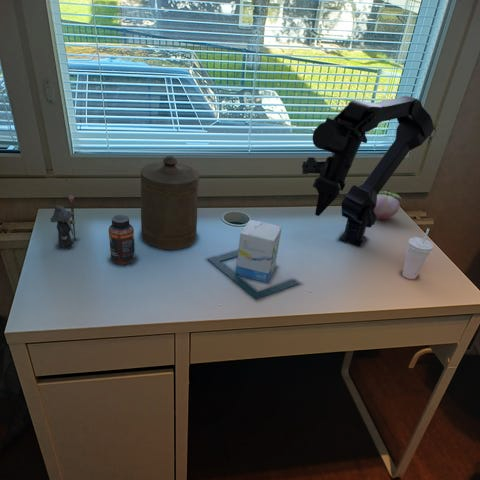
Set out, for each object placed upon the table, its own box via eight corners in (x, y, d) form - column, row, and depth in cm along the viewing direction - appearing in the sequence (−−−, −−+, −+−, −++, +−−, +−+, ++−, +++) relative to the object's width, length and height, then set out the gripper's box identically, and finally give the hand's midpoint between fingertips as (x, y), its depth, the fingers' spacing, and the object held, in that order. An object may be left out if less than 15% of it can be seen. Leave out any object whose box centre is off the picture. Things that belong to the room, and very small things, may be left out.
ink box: (267, 282, 116) (274, 241, 109) (234, 274, 118) (239, 232, 111) (275, 266, 123) (282, 226, 116) (244, 258, 124) (249, 218, 117)
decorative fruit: (392, 215, 156) (401, 186, 150) (396, 226, 149) (405, 196, 143) (364, 211, 156) (372, 182, 150) (366, 222, 150) (374, 192, 144)
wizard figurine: (75, 252, 119) (69, 207, 112) (52, 251, 118) (44, 206, 111) (80, 236, 125) (75, 193, 118) (58, 235, 125) (52, 192, 117)
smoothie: (408, 283, 122) (426, 235, 114) (392, 271, 127) (408, 223, 118) (426, 279, 125) (445, 231, 117) (409, 267, 129) (426, 220, 121)
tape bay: (249, 248, 129) (249, 247, 129) (298, 284, 117) (298, 283, 117) (208, 260, 122) (208, 259, 122) (255, 299, 110) (256, 298, 110)
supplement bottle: (140, 258, 120) (138, 217, 113) (126, 268, 115) (123, 226, 108) (120, 251, 121) (117, 210, 114) (105, 261, 117) (102, 219, 110)
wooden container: (203, 230, 135) (207, 153, 121) (185, 254, 123) (188, 172, 110) (154, 220, 137) (152, 143, 123) (132, 243, 125) (128, 160, 112)
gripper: (317, 144, 126) (295, 199, 132) (306, 143, 109) (281, 207, 116) (356, 159, 124) (331, 215, 131) (351, 162, 108) (323, 225, 114)
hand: (316, 215), depth 123 cm, fingers closed
